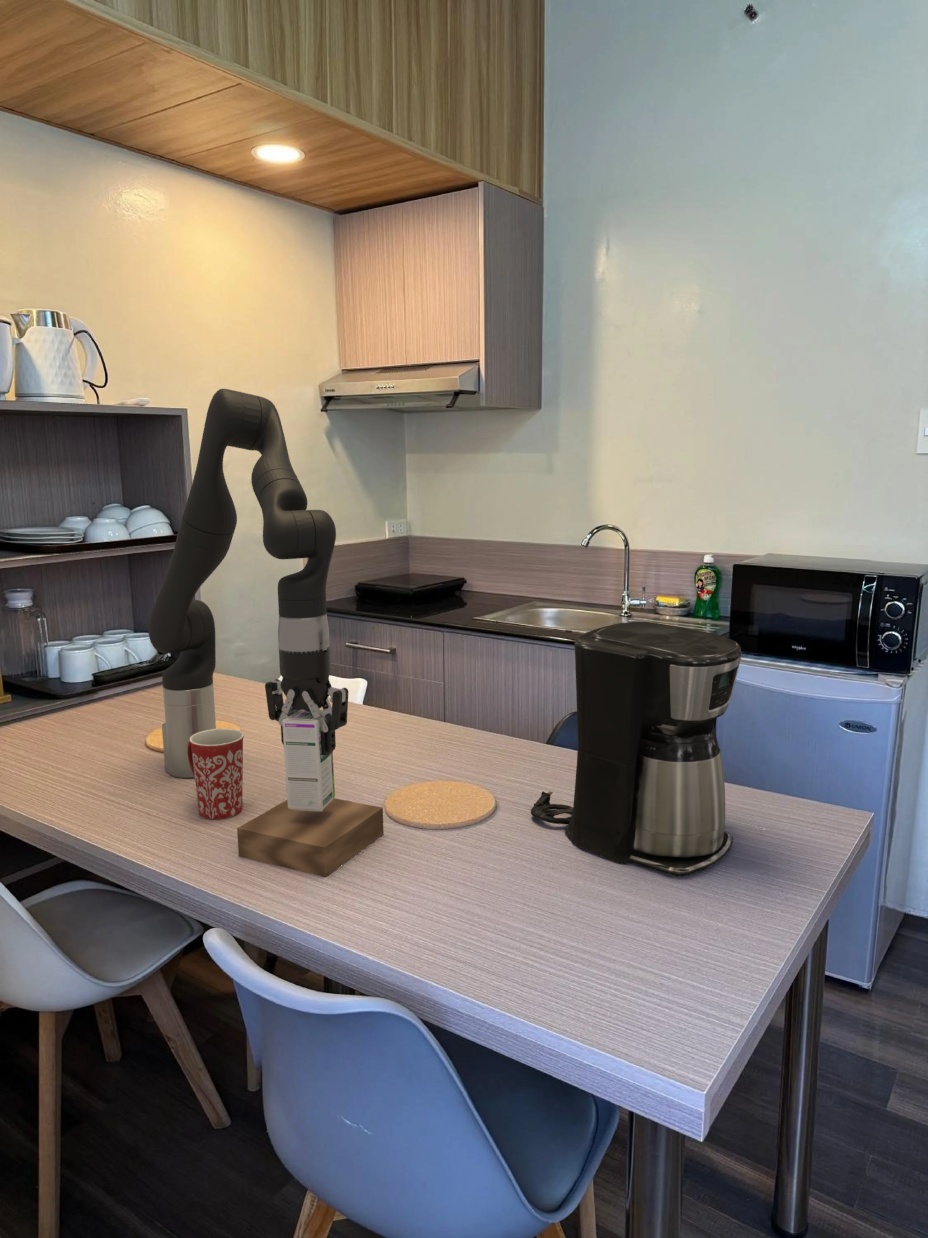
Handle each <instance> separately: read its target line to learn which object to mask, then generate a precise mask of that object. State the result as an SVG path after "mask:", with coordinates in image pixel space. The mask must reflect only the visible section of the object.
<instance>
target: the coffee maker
mask: <svg viewBox="0 0 928 1238" xmlns="http://www.w3.org/2000/svg"><path fill="white" fill-rule="evenodd" d="M741 659H742V648H741V646H740V644H739V643H738V642H737V641H735V640H733V639H731V638H729V637H727V636H722V635H719V634H717V633H712V632H709V631H703V630H697V629H693V628H688V627H682V626H677V625H672V624H671V625H670V624H665V623H659V622H651V621H642V620H641V621H639V620H636V621H627V622H619V623H613V624H609V625H606V626H602V627H598V628H594V629H592V630H589V631H587V632H585V633H582V634H580V635H578V636H577V637H576V638H575V642H574V661H575V662H574V664H575V689H576V691H575V694H576V719H577V720H576V722H577V751H576V753H577V755H576V766H575V767H576V768H575V769H576V770H575V782H574V796H573V797H574V798H573V806H571V805H568V804H560V803H558V804H557V803H551V802H550V801H551V795H553V793H554V792H553V791H548V792H546V791H541V795H540V796H539V798H538V799H537V800H536V802H535V803H533V806H532V807H531V809H530V815H531V816H532V817H533V818H535V819H538V820H541V821H542V822H546V823H550V824H553V825H554V824H556V825H567V826H566V829H565V831H564V834H565V835H566V836H567V838H568V840H570V841H571V842H572V843H573V844H575V846H576V847H578V848H581V849H583V850H585V851H587V852H590V853H592V854H595V855H597V856H600V857H602V858H604V859H607V860H609V861H612V862H615V863H618V864H622V865H624V864H633V865H636V866H639V867H642V868H646V869H650V870H652V871H656V872H659V873H662V874H666V875H670V876H673V877H674V876H675V877H684V876H690V875H693V874H696V873H699V872H701V871H705V870H706V869H708V868H709V867H711V866H714V865H715V864H716V863H718V862H719V861H720V860H721V859H723V857H726V855H727V853H728V852H729V851H730V849H731V848H732V845H733V841H734V837H733V836H732V834H730V832H729V831H726V830H725V828H726V827H725V824H726V787H725V786H726V785H725V775H724V767H723V766H724V764H723V758H722V750H721V749H720V746H719V741H718V737H717V732H716V728H715V723H716V720H717V719H718V718H719V717H722V716H723V715H724V714H725V713H726V712H727V709H728V708H729V704H730V702H731V700H732V699H731V698H732V695H733V691H734V688H735V684H736V681H737V676H738V673H739V672H738V671H739V667H740V664H741ZM548 810H550V811H551V812H547V813H545V811H548ZM552 810H555V811H552ZM562 814H570V815H571V816H568V817H555V816H559V815H562Z"/></svg>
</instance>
